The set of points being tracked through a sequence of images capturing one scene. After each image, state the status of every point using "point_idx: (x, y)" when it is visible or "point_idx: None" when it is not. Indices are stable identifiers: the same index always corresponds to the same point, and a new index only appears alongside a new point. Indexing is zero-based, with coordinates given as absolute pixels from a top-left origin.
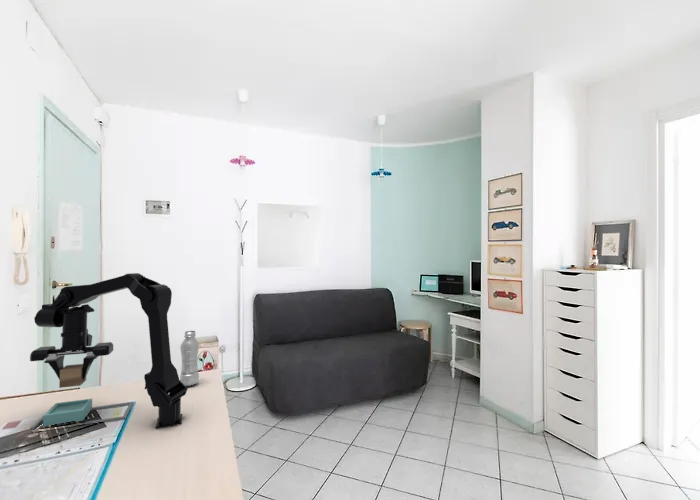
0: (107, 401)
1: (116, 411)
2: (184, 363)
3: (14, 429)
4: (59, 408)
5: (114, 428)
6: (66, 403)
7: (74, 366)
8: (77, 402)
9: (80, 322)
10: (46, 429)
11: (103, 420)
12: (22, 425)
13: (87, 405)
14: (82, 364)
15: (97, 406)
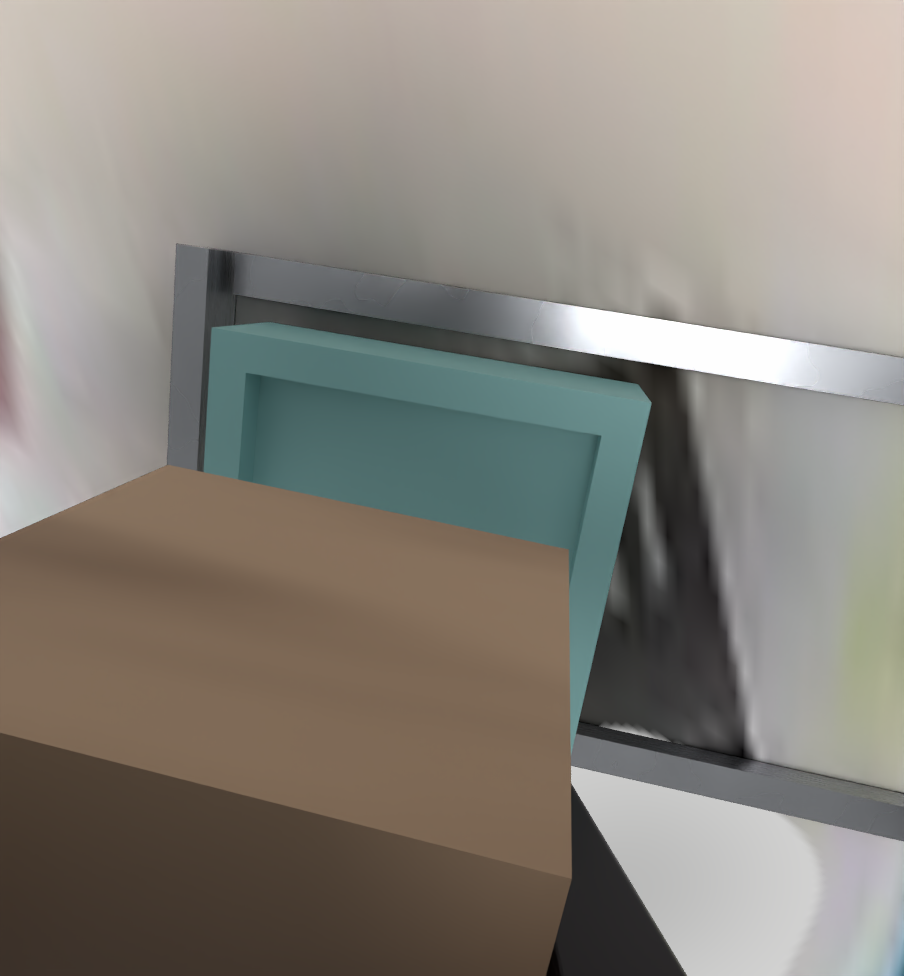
0: (822, 86)
1: (895, 561)
2: None
3: (26, 484)
4: (291, 460)
5: (832, 972)
6: (339, 387)
7: None
8: (468, 411)
9: None
10: None
11: (752, 805)
12: (55, 418)
13: (600, 616)
14: (384, 937)
15: (697, 328)
